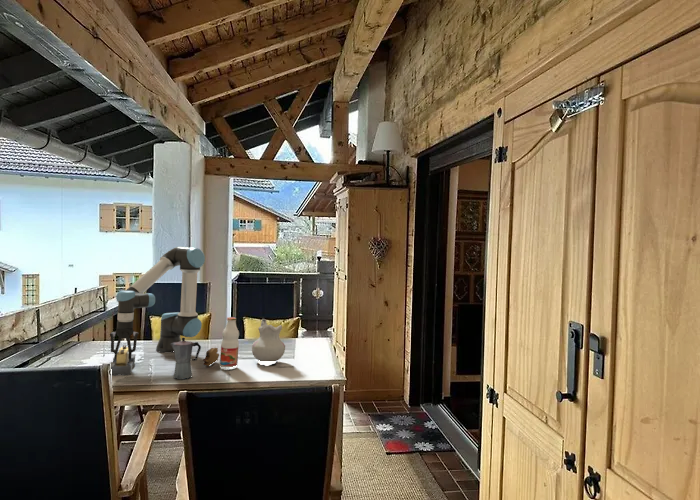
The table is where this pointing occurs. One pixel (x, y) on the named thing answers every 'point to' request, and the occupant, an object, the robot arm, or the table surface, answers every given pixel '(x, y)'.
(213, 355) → the wooden carving
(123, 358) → the yellow block with knob
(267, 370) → the table surface
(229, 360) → the fruit juice
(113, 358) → the end link
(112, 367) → the end link
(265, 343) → the ceramic pitcher
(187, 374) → the moka pot
